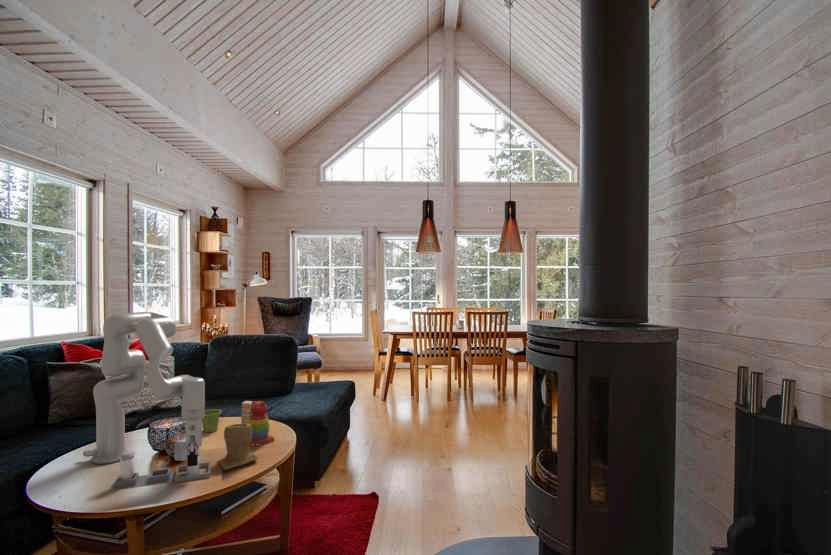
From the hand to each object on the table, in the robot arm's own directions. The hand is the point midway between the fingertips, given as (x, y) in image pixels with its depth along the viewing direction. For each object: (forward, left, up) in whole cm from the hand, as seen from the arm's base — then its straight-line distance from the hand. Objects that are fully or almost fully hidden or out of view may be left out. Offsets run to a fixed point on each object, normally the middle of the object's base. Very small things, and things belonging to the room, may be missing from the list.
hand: (193, 460), depth 169 cm
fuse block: (-16, 0, -6) cm, 17 cm away
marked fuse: (0, 0, -6) cm, 6 cm away
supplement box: (+22, +50, -6) cm, 55 cm away
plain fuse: (-21, 0, -5) cm, 21 cm away
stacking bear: (+24, +31, -6) cm, 40 cm away
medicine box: (-4, +19, -6) cm, 20 cm away
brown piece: (+14, +8, -6) cm, 18 cm away
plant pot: (+4, +56, -6) cm, 57 cm away
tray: (0, 0, -6) cm, 6 cm away
